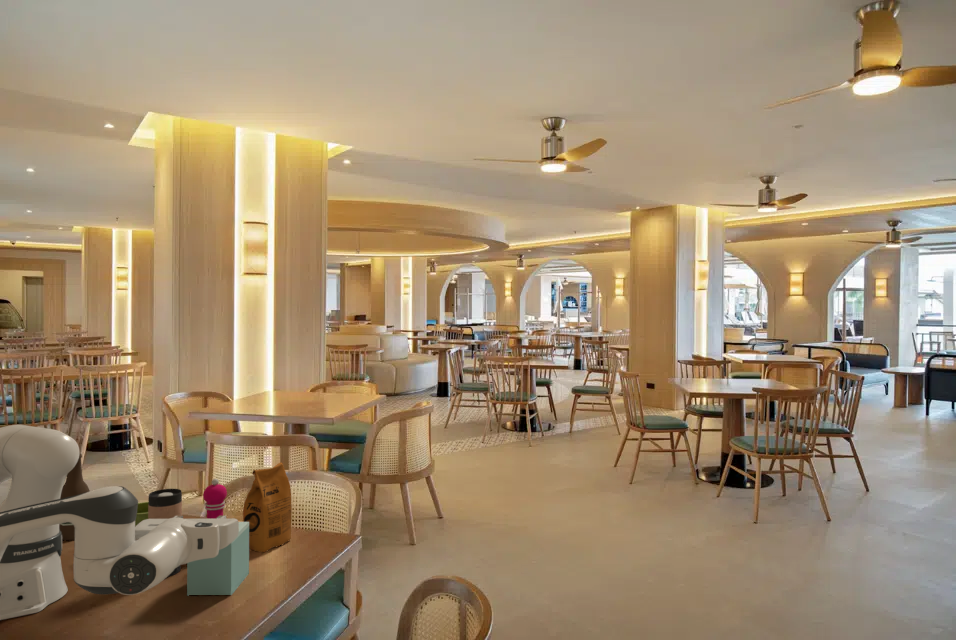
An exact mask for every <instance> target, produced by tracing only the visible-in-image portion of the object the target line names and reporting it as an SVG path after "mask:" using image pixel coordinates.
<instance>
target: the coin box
mask: <svg viewBox="0 0 956 640" xmlns="http://www.w3.org/2000/svg"><path fill="white" fill-rule="evenodd" d="M238 522H239V532H238V536H237V537H236V538H235V540H234V541H233V542H231V543H230V544H229V545H228V546H227V547H225V548H223V549H221V550H219V553H218V555H217V556H216V557H214V558H208V559H202V560H196V561H192V562H189V563H186V564H187V565H186V566H187V573H186V574H187V575H186V578H187V579H186V584H187V585H186V587H187V588H186V589H187V591H186V596H188V597H190V596H189V595H231V596H233V594H234V593H235V591H237V589H238V588H239V587H240V585H241V584H242V583H243V581H244V580H245V579H246V578H247V576H248V575H249V574H250V549H249V522H243V521H238Z"/></svg>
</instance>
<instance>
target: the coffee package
mask: <svg viewBox="0 0 956 640" xmlns="http://www.w3.org/2000/svg"><path fill="white" fill-rule="evenodd" d="M251 474H252V475H253V476H254V480H253V482H252V484H251V488H250V490H249V491H248V493H247V495H246V497H245V500H244V504H243V509H242V522H249V550H251V551H255V552H257V553H258V552H259V553H265V552H266V553H267V551H269V550H271V549H273V548H277V547H276V546H279V547H281V546H280V545H282V544H283V545H285V544H286V543H287V542H289V541H291V540H290V539H292V517H293V516H292V515H293V514H292V513H293V512H292V510H293V509H292V507H293V506H292V490H291V489H292V488H291V482H290V480H289V477H288V475H287V472H286V469H285V466H284V464H283V463H282V462H278V463H276V465H275V466H273V467H272V468H271V467H270V468H264V469H262V468H261V469H259V468H258V469H253V470H252V472H251ZM285 542H286V543H285ZM284 543H285V544H284ZM283 545H282V546H283Z"/></svg>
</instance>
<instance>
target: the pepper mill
mask: <svg viewBox="0 0 956 640" xmlns="http://www.w3.org/2000/svg"><path fill="white" fill-rule="evenodd" d="M227 496H228V491H227V488H226V487H225V486H224V484H223V485H222V484H220V483H219V479H217V478H213V479H212V480H211V484H210V485H208V486H206V487H205V489H204V490H203V493H202V498H203V500H204V501H205V504H204V509H205V510H206V518H205V519H217V517H219V516H224V508H225V506H226V502H225V500H226V498H227Z"/></svg>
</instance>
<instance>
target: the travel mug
mask: <svg viewBox="0 0 956 640" xmlns="http://www.w3.org/2000/svg"><path fill="white" fill-rule="evenodd" d="M182 495H183V493H182V490H181V489H180V488H163V489H157V490H154V491H151V492H150V493H148V500H147V502H148V519H169V518H173V517H175V516H183V501H182V500H183V496H182ZM181 569H182V565H180V566H178V567H177V568H175V569H174V571H173V572H172V573H171V574H170V575H169V576H167V577H171V576H174V575H177V574H178V573H180V571H181ZM167 577H166V578H167Z"/></svg>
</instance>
